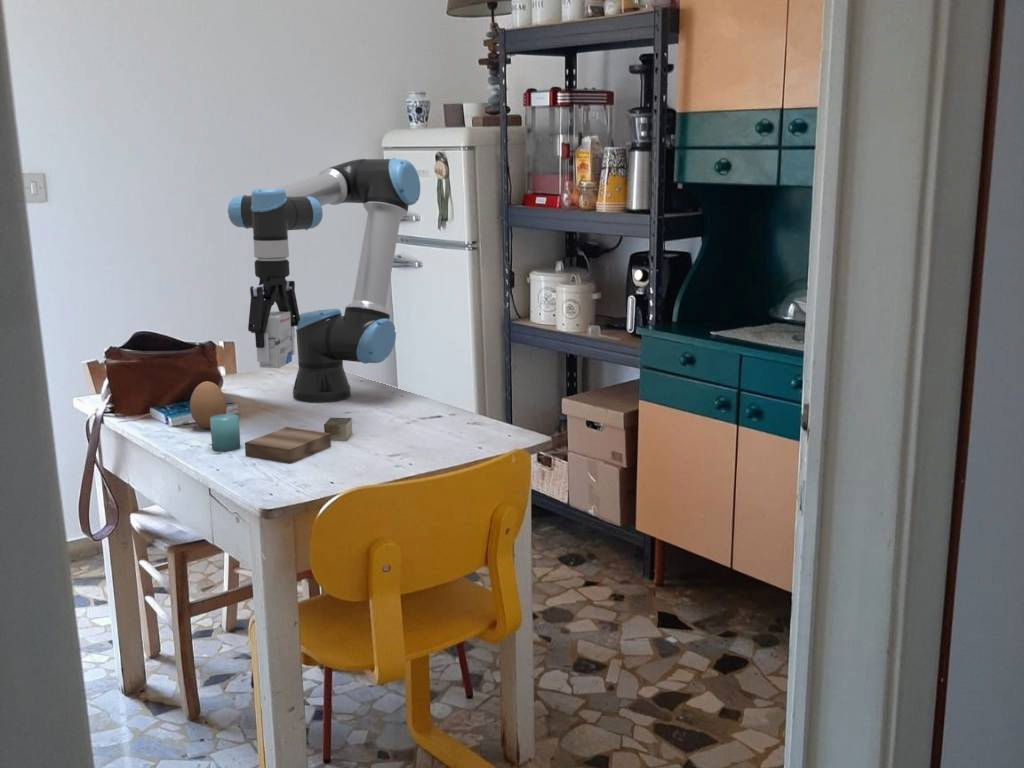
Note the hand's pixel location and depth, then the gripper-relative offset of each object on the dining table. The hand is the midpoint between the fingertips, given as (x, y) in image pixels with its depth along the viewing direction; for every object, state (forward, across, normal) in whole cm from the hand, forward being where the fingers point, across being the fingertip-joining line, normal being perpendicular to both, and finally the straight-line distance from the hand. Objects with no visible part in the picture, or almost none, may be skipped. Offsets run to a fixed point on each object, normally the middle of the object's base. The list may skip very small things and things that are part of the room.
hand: (276, 357), depth 224 cm
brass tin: (+18, -2, +15) cm, 23 cm away
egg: (+18, +3, -18) cm, 25 cm away
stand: (+18, +12, +10) cm, 24 cm away
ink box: (+2, 0, 0) cm, 2 cm away
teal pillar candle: (+18, +15, -4) cm, 23 cm away
